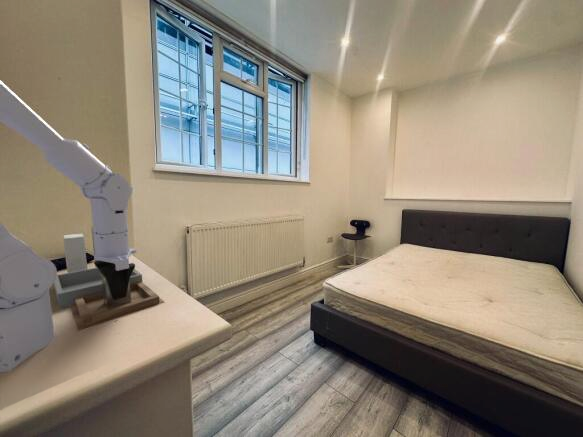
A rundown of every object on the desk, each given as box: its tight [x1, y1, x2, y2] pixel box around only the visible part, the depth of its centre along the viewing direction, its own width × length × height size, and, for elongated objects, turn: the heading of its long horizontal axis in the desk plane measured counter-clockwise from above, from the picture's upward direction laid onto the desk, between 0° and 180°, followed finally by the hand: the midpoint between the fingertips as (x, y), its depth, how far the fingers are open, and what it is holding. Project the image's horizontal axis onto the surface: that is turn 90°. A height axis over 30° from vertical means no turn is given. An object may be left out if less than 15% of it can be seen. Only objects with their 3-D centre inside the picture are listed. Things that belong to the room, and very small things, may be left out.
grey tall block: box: [100, 271, 131, 309], centre depth 50 cm, size 4×4×7 cm
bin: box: [53, 267, 143, 309], centre depth 58 cm, size 15×15×4 cm
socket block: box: [69, 281, 166, 332], centre depth 50 cm, size 14×14×2 cm
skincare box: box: [62, 233, 88, 273], centre depth 67 cm, size 6×4×12 cm
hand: (116, 294), depth 50 cm, fingers closed on grey tall block, 4 cm apart
